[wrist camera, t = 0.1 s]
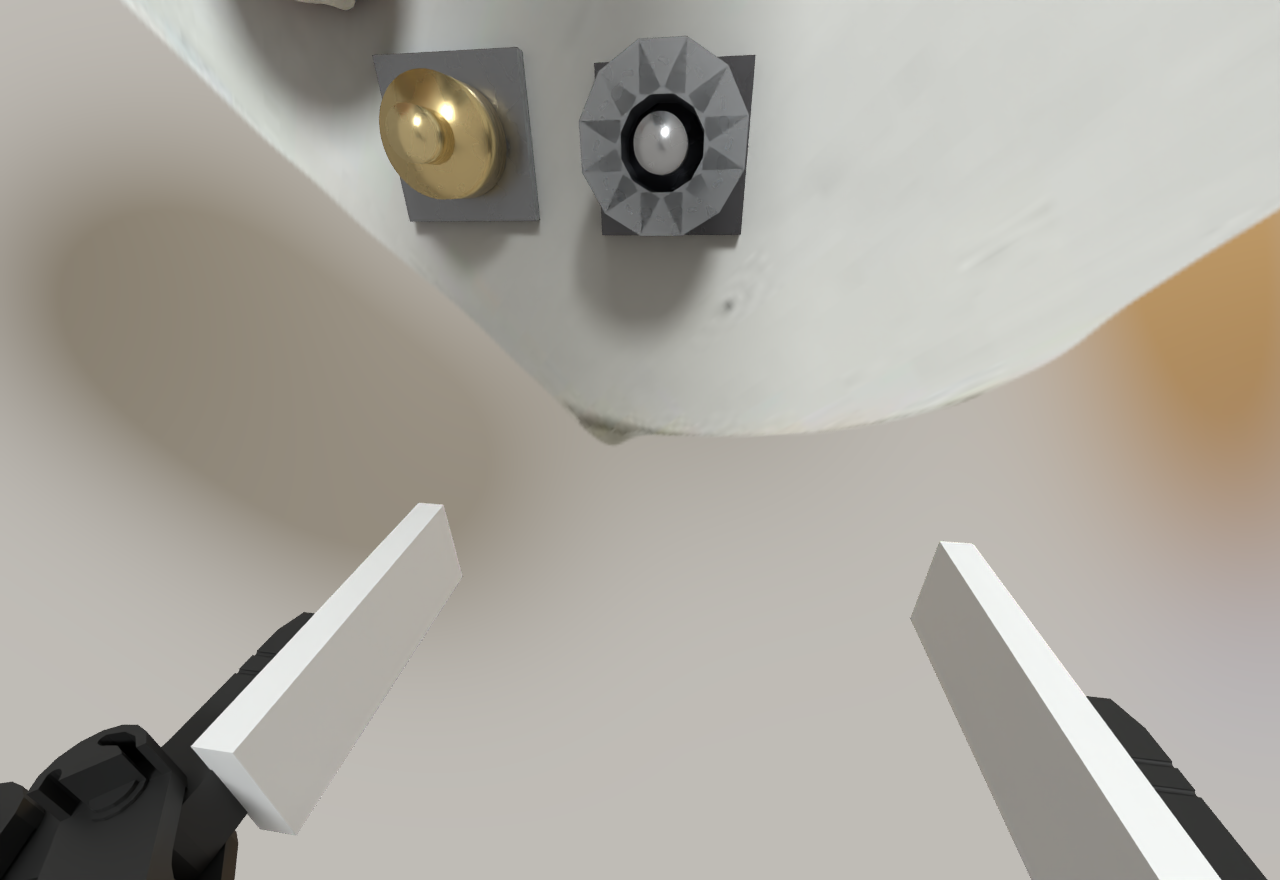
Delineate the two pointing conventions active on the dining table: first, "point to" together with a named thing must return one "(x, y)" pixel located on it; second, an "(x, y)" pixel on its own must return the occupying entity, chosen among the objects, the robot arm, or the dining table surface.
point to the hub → (459, 134)
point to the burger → (333, 3)
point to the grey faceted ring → (632, 90)
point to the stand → (682, 153)
